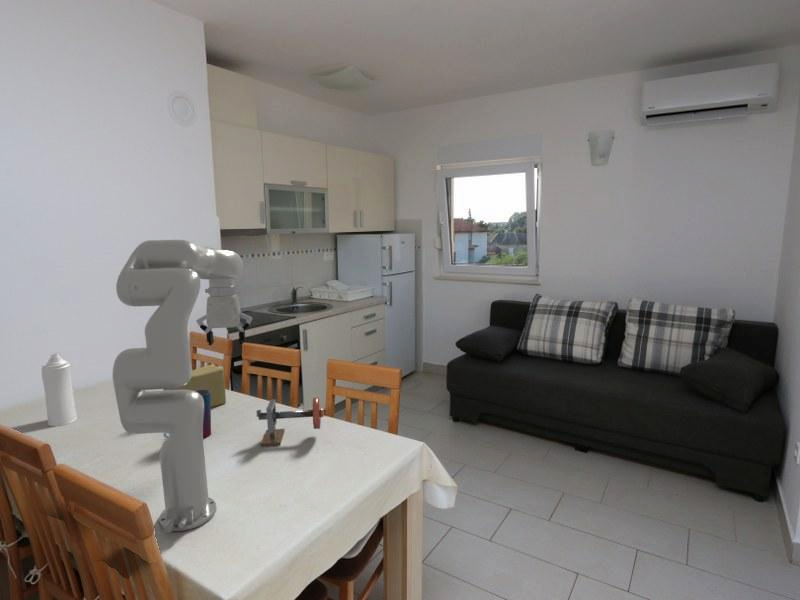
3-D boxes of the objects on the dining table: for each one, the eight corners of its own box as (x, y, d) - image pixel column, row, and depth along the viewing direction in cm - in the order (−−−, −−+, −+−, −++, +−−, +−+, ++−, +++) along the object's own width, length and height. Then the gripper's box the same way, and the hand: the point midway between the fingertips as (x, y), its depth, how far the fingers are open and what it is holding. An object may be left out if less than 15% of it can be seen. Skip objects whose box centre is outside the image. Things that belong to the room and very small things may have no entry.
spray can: (36, 423, 168) (26, 356, 164) (65, 412, 178) (56, 348, 174) (59, 427, 164) (49, 359, 160) (88, 415, 174) (79, 350, 170)
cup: (206, 440, 152) (202, 397, 150) (187, 439, 154) (183, 395, 151) (218, 431, 159) (214, 389, 156) (200, 430, 160) (196, 388, 158)
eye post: (280, 445, 148) (278, 409, 146) (261, 446, 148) (258, 410, 146) (284, 431, 158) (282, 397, 156) (266, 432, 157) (264, 398, 155)
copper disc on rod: (323, 433, 149) (321, 404, 147) (255, 437, 147) (253, 407, 145) (324, 420, 159) (323, 392, 157) (261, 424, 157) (259, 396, 155)
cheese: (173, 423, 166) (169, 383, 164) (159, 417, 172) (154, 378, 169) (227, 403, 184) (224, 367, 181) (213, 398, 189) (210, 363, 187)
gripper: (190, 294, 145) (195, 347, 148) (247, 292, 146) (251, 345, 149) (198, 291, 152) (202, 342, 155) (252, 289, 154) (256, 339, 157)
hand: (226, 343), depth 152 cm, fingers open, 9 cm apart
